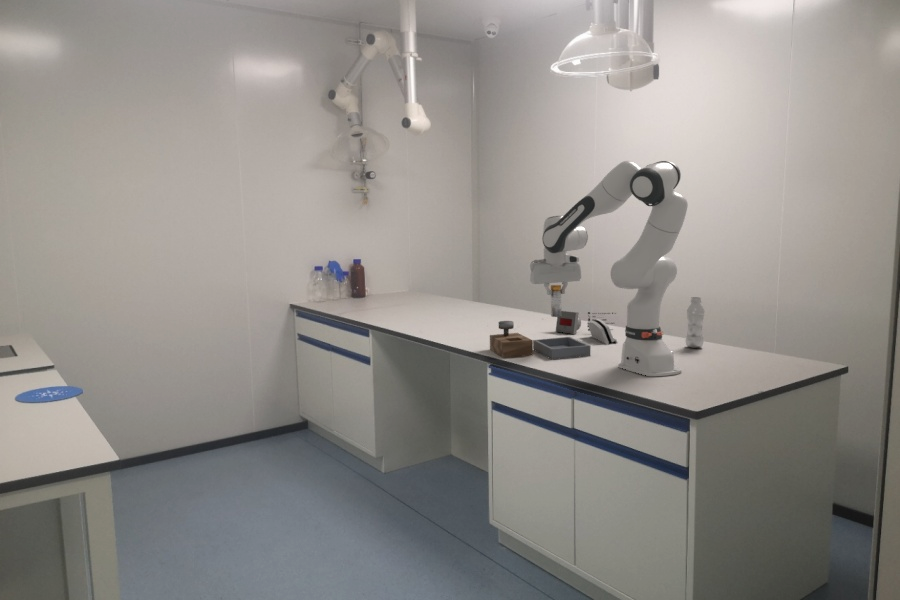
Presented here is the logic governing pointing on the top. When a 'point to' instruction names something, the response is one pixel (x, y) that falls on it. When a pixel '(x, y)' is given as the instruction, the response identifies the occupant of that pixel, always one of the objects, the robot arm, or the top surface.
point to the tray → (561, 347)
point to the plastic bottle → (695, 323)
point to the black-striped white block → (601, 331)
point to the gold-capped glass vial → (556, 301)
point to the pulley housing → (510, 342)
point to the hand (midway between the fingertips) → (556, 294)
